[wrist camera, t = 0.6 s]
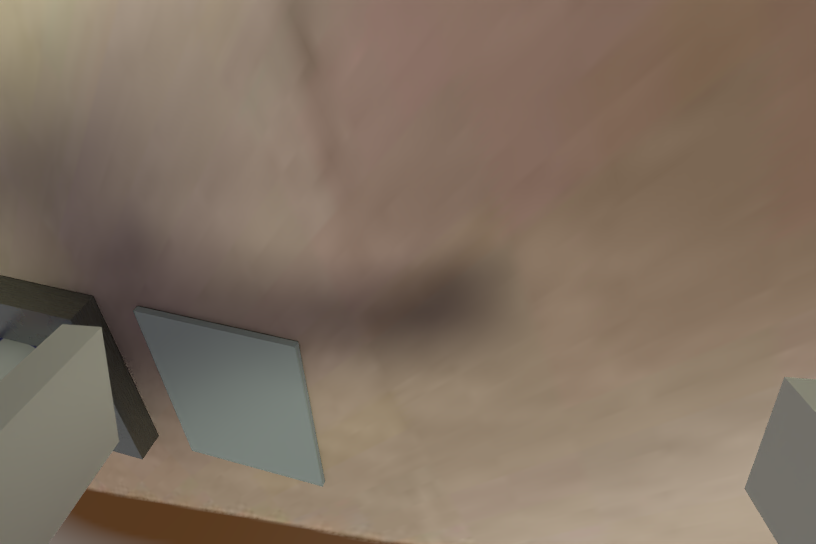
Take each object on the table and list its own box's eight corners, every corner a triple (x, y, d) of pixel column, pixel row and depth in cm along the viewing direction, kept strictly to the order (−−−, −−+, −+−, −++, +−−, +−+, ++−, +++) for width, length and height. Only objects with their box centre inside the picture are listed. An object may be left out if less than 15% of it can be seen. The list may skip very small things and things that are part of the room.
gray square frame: (-95, 254, 41) (-123, 274, 39) (92, 296, 38) (69, 319, 36) (1, 393, 50) (-19, 413, 49) (158, 436, 47) (142, 459, 45)
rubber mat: (137, 306, 37) (133, 310, 37) (298, 341, 35) (294, 347, 34) (195, 445, 46) (192, 450, 46) (324, 481, 44) (322, 486, 44)
